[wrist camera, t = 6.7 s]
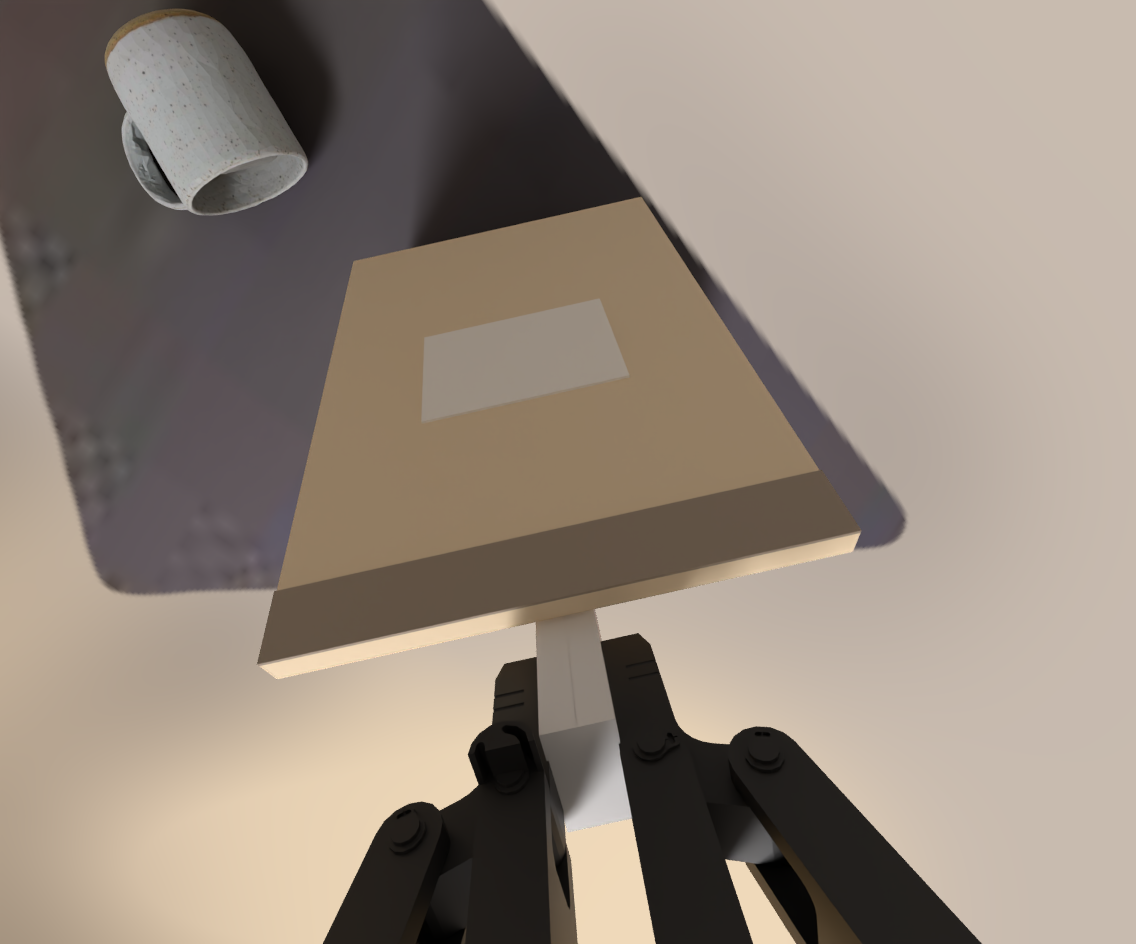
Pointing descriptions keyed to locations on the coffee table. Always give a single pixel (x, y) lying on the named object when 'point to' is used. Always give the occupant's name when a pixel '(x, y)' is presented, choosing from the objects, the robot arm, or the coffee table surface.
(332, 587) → the carton lid
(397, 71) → the coffee table surface
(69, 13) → the coffee table surface
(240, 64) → the ceramic mug
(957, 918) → the robot arm
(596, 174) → the coffee table surface
